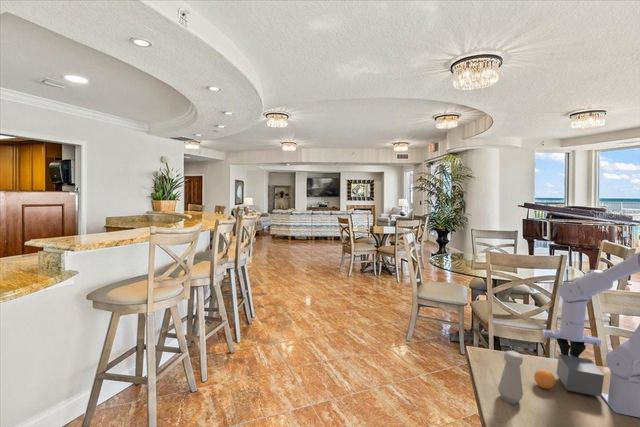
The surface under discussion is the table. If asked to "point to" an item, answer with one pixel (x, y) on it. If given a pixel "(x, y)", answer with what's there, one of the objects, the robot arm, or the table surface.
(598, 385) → the grey block with fin
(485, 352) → the table surface
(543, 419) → the table surface
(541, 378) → the ball
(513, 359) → the salt shaker
